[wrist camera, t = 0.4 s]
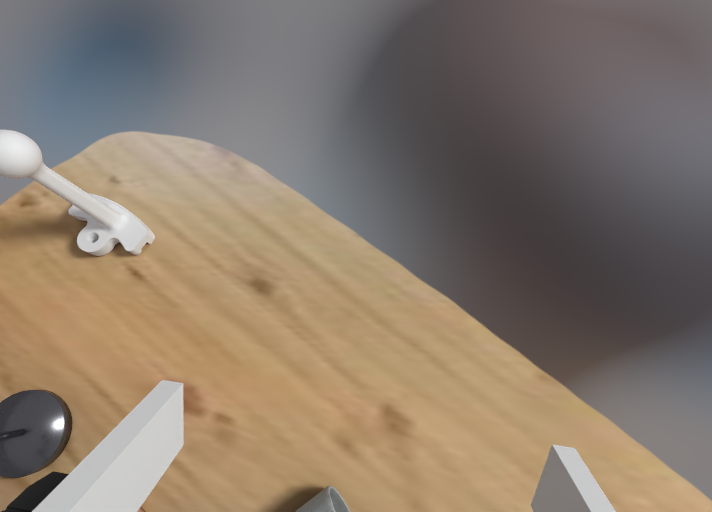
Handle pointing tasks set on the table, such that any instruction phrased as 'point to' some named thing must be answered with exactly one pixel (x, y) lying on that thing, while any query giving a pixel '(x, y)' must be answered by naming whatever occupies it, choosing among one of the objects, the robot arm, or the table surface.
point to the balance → (32, 431)
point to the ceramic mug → (325, 502)
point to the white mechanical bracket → (75, 199)
